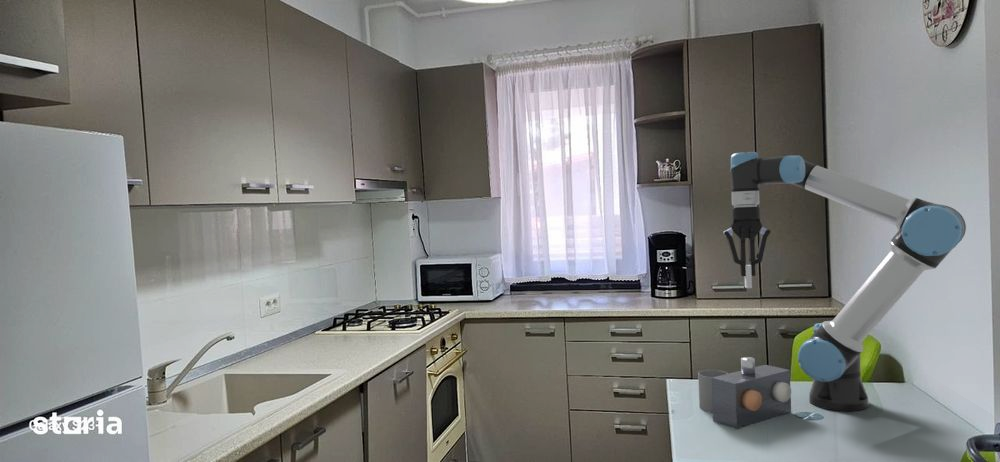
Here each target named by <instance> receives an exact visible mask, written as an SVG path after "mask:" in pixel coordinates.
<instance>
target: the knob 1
mask: <svg viewBox="0 0 1000 462" xmlns="http://www.w3.org/2000/svg"><path fill="white" fill-rule="evenodd" d="M742 403H743V406H744V407H745V408H746V409H749V410H752V411H756V410H758V409H759V408H760V406H761V403H762V396H761V394H760V393H759V392H758V391H754V390H751V389H749V390H747V391H746V392H745V393H744V395H743V398H742Z"/></svg>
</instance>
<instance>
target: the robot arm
mask: <svg viewBox="0 0 1000 462" xmlns="http://www.w3.org/2000/svg"><path fill="white" fill-rule="evenodd" d="M729 170H730V186H731V206H733V207H732V209H731V215H732V216H731V220H732V222H731V225H730V228H728V229H727V230H723V232H722V234H723V236H724V237H725V239H726V240H727V243H728V246H729V251H730V254H731V257H732V260H733V263H735V264H738V265H739V266H740V267H739V268H740V270H739V271H740V276H741V277H744V288H746V289H752V288H753V281H752V279H753V277H755V276H756V265H757V264H761V263H762V262H763V259H764V258H763V257H764V252H765V248H766V243H767V239H768V237H769V235H770V234H771V230H770V229H767V228H766V227H764V226H763V224H762V222H761V209H760V206H758V205H760V202H761V201H760V185H761V186H763V185H779V184H781V185H783V184H788V185H789V184H790V185H793V186H795V187H798V188H800V189H804V190H806V191H809V192H811V193H814V194H816V195H819V196H821V197H824V198H826V199H829V200H831V201H833V202H837V203H839V204H840V205H844V206H847V207H848V208H849V207H850V208H852V209H854V210H856V211H859V212H861V213H865V214H867V215H869V216H872V217H874V218H876V219H880V220H882V221H883V222H886V223H888V224H891V225H894V226H895V227H896V229H897V232H896V233H895V235H894V236H893V237H892V239H890V240H889V241H890V251H889V252H888V253H887V255H886V256H885V257H884V258H883V260H882V261H881V262H880V263H879V264H878V265H877V267H876V268H874V270H873V271H872V273H871V274H870V275H869V276H868V278H867V279H866V280H865V281H864V282H863V283H862V285H860V287H859V288H858V290H857V291H856V292H855V293H854V294H853V296H852V297H850V299H849V300H848V302H847V303H846V304H845V305H844V306H843V308H842V309H840V311H839V312H838V314H837V315H836V316H835V317H834V318H833V319H832V320H826V321H823V322H818V323H815V324H814V325H813V326H814V327H813V334H812V335H811V336H810V337H809V338H808V339H807V340H806V341H804V342H803V343H802V344H801V345H800V347H799V350H798V351H797V361H798V365H799V366H800V367H799V368H800V369H801V370H802V372H804V373H805V375H806V376H808V378H810V379H813V381H812V384H811V388H810V391H809V394H808V399H809V403H810V404H812V405H814V406H816V407H819V408H822V409H826V410H833V411H839V412H840V411H841V412H842V411H843V412H851V411H852V412H854V411H855V412H857V411H861V410H866V409H868V408H869V406H870V405H869V396H868V393H867V391H866V388H865V386H864V383H863V380H862V377H861V376H862V375H861V374H862V373H861V353H862V352H863V351H864V344H863V341H864V340H865V339H866V338H867V337H868V336H869V334H871V332H872V331H873V330H874V329H875V327H876V326H877V325H878V324H879V323H880V322H881V321H882V320H883V318H884V317H885V316H886V315H887V314H888V312H889V311H890V310H891V309H892V308H893V307H894V306H895V305H896V304H897V302H898V301H899V300H900V299H901V298H902V296H903V295H904V294H905V293H906V292H907V291H908V290H909V289H910V288H911V286H912V285H913V284H914V283H915V282H916V281H917V279H919V277H920V276H921V275H922V274H923V272H925V271H928V270H936V269H937V267H938V266H939V265H940V264H941V263H942V262H943V261H944V259H945V258H946V257H947V256H948V255H949V254H950V253H951V252H952V250H954V248H956V247H957V246H958V244H959V243H960V242H962V240H963V238H964V236H965V234H966V231H967V228H966V227H967V225H966V222H965V219H964V216H963V215H962V213H960V212H959V211H957V209H955V208H953V207H951V206H949V205H944V204H940V203H934V202H930V201H927V200H924V199H920V198H917V197H914V198H907V197H904V196H901V195H898V194H897V193H894V192H890V191H887V190H885V189H882V188H880V187H877V186H874V185H872V184H870V183H866V182H863V181H860V180H858V179H855V178H853V177H850V176H847V175H844V174H841V173H839V172H836V171H833V170H831V169H828V168H825V167H823V166H820V165H817V164H814V163H812V162H809V161H807V160H806V159H804V158H803V157H802V156H801V155H785V156H775V157H774V156H772V157H765V158H764V157H760V156H759V153H758V152H756V151H747V152H745V151H744V152H743V151H742V152H735V153H733V154H732V155H731V156H730V168H729ZM759 233H760V238H759V242H758V247H757V253H756V249H755V248H756V247H755V244H756V243H755V242H756V236H757V235H758V234H759ZM734 234H735V236H736V237H738V242H739V243H738V244H739V256H738V253H737V250H736V246H735V242H734V237H733V235H734ZM746 239H747V241H748V257H749V258H748V263H749V264H747V261H746V260H747V259H746V255H747V253H746Z"/></svg>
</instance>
